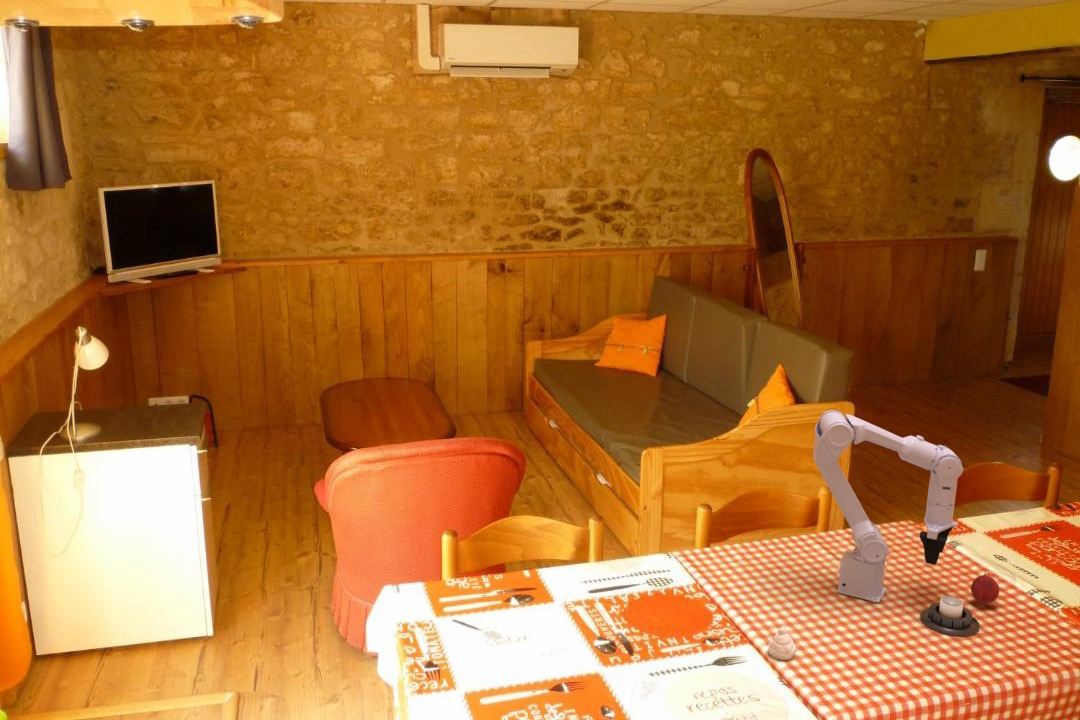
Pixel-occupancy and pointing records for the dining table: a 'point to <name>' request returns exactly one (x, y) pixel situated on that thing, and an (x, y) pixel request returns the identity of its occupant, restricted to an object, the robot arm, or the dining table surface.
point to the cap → (951, 607)
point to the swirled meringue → (782, 645)
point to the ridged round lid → (949, 622)
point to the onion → (985, 589)
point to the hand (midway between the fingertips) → (934, 557)
